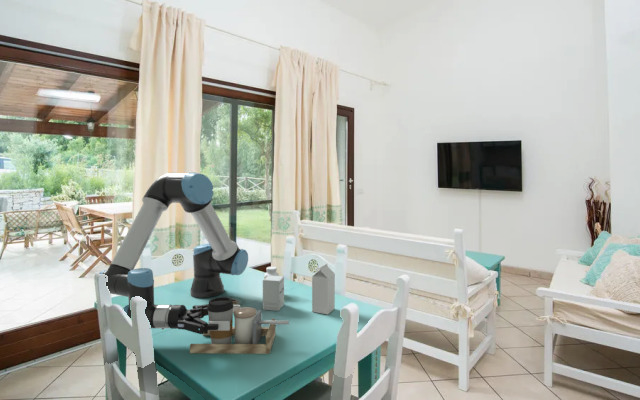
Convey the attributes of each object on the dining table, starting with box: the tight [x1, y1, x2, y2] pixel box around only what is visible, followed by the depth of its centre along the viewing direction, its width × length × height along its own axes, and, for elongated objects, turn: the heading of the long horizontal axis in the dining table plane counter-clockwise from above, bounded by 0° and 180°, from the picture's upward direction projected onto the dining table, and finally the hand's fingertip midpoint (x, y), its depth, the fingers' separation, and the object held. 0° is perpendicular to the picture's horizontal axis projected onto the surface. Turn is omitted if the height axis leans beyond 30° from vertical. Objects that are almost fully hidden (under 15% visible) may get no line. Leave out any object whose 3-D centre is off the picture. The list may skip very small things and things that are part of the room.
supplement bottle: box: [263, 266, 280, 280], centre depth 163 cm, size 7×7×13 cm
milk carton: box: [311, 263, 336, 315], centre depth 144 cm, size 7×7×19 cm
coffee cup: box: [207, 296, 234, 344], centre depth 115 cm, size 8×8×15 cm
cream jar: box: [233, 306, 258, 344], centre depth 117 cm, size 7×7×11 cm
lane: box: [189, 318, 276, 355], centre depth 117 cm, size 25×13×6 cm, turn 90°
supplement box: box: [262, 275, 285, 312], centre depth 148 cm, size 7×7×13 cm
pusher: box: [253, 309, 290, 344], centre depth 116 cm, size 11×10×9 cm
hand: (235, 316), depth 116 cm, fingers open, 13 cm apart
